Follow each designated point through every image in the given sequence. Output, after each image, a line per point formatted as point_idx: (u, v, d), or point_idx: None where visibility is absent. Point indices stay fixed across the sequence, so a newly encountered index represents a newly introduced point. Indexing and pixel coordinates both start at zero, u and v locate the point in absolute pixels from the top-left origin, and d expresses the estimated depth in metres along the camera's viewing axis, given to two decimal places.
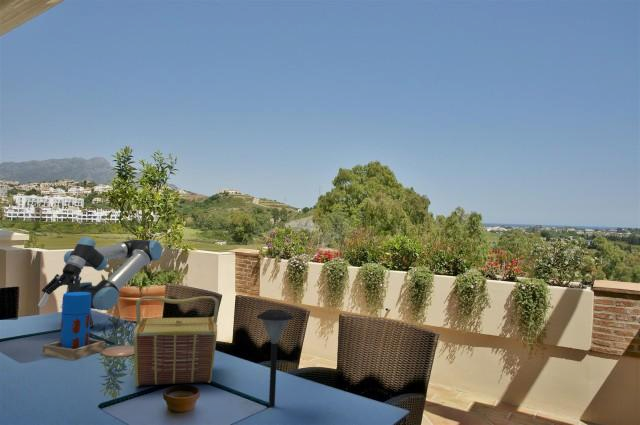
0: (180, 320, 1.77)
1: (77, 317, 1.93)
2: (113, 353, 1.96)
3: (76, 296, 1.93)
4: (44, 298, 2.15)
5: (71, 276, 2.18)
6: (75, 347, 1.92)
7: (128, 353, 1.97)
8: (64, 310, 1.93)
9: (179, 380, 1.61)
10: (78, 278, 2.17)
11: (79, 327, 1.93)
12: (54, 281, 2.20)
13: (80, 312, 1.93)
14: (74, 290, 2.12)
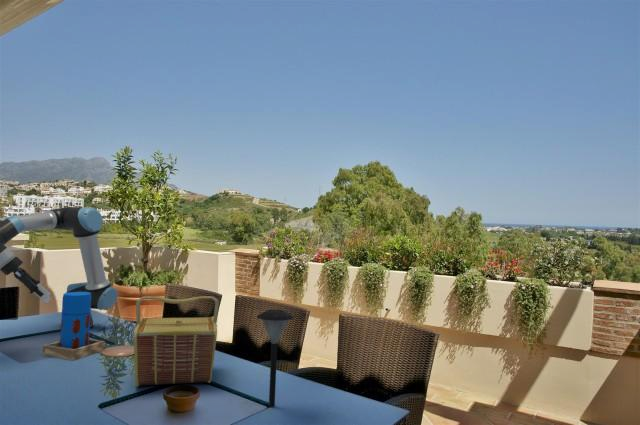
0: (180, 320, 1.77)
1: (77, 317, 1.93)
2: (113, 353, 1.96)
3: (76, 296, 1.93)
4: None
5: None
6: (75, 347, 1.92)
7: (128, 353, 1.97)
8: (64, 310, 1.93)
9: (179, 380, 1.61)
10: (18, 275, 1.81)
11: (79, 327, 1.93)
12: None
13: (80, 312, 1.93)
14: (29, 289, 1.81)
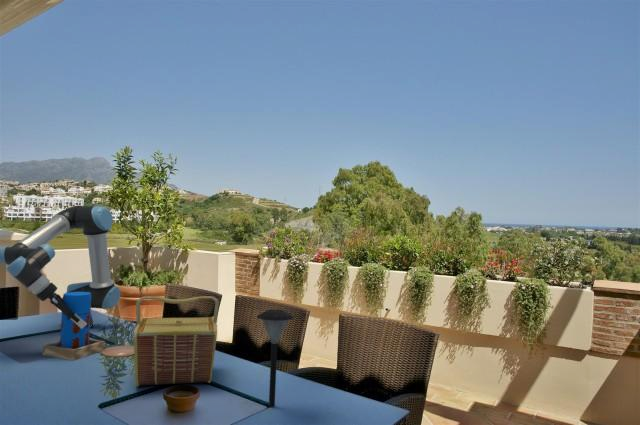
0: (180, 320, 1.77)
1: None
2: (113, 353, 1.96)
3: (76, 296, 1.93)
4: None
5: (51, 300, 1.90)
6: (75, 347, 1.92)
7: (128, 353, 1.97)
8: None
9: (179, 380, 1.61)
10: (55, 302, 1.87)
11: (79, 327, 1.93)
12: None
13: (80, 312, 1.93)
14: (66, 315, 1.88)
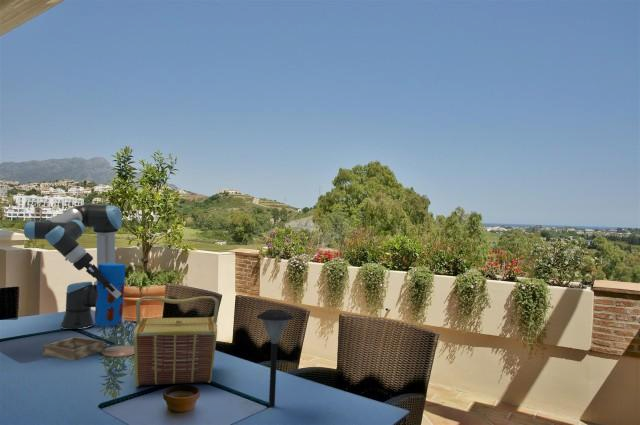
0: (180, 320, 1.77)
1: None
2: (113, 353, 1.96)
3: (111, 266, 1.95)
4: None
5: (87, 269, 1.92)
6: (110, 316, 1.94)
7: (128, 353, 1.97)
8: None
9: (179, 380, 1.61)
10: (91, 271, 1.89)
11: (114, 297, 1.95)
12: None
13: (115, 282, 1.95)
14: (102, 284, 1.90)
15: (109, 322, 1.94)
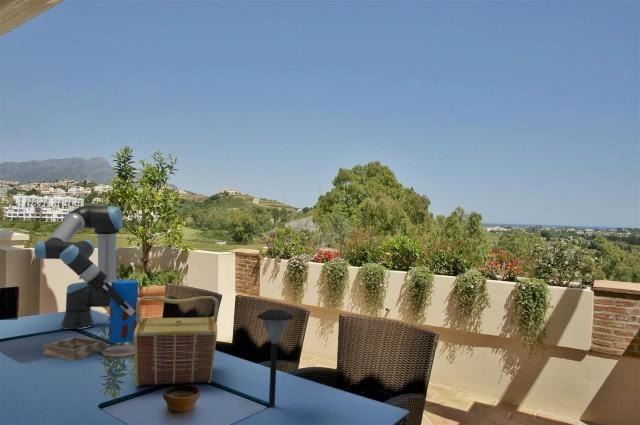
0: (180, 320, 1.77)
1: None
2: (113, 353, 1.96)
3: (125, 284, 1.97)
4: None
5: (101, 288, 1.94)
6: (124, 334, 1.96)
7: (128, 353, 1.97)
8: None
9: (179, 380, 1.61)
10: (106, 289, 1.91)
11: (128, 315, 1.97)
12: None
13: (129, 300, 1.98)
14: (116, 302, 1.92)
15: (123, 339, 1.96)
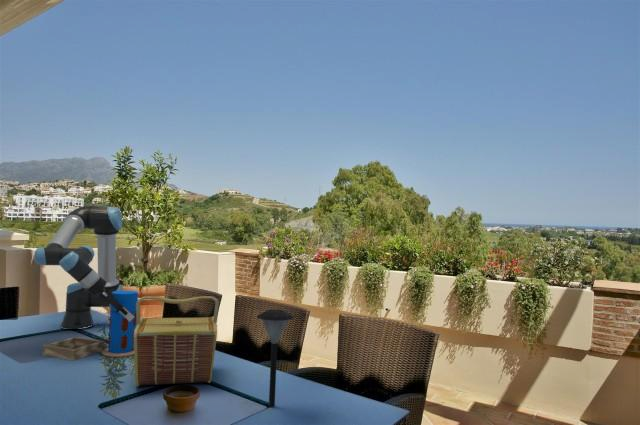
0: (180, 320, 1.77)
1: None
2: (113, 353, 1.96)
3: (125, 294, 1.97)
4: None
5: None
6: (123, 344, 1.97)
7: (128, 353, 1.97)
8: (113, 308, 1.97)
9: (179, 380, 1.61)
10: (105, 295, 1.91)
11: (127, 325, 1.98)
12: None
13: (128, 310, 1.98)
14: None
15: (123, 350, 1.97)
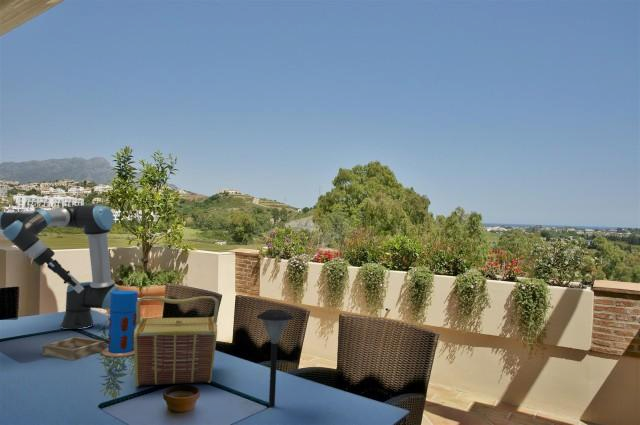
0: (180, 320, 1.77)
1: (125, 315, 1.97)
2: (113, 353, 1.96)
3: (124, 294, 1.97)
4: None
5: None
6: (123, 344, 1.97)
7: (128, 353, 1.97)
8: (113, 308, 1.97)
9: (179, 380, 1.61)
10: (51, 266, 1.85)
11: (127, 325, 1.98)
12: None
13: (128, 310, 1.98)
14: (63, 279, 1.85)
15: (123, 350, 1.97)
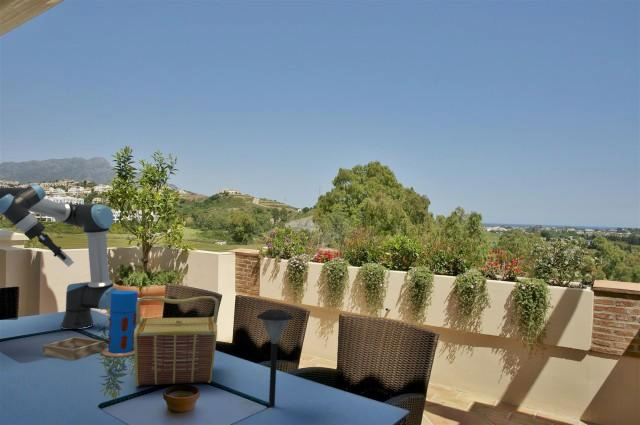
0: (180, 320, 1.77)
1: (125, 315, 1.97)
2: (113, 353, 1.96)
3: (124, 295, 1.97)
4: None
5: None
6: (123, 344, 1.97)
7: (128, 353, 1.97)
8: (113, 308, 1.97)
9: (179, 380, 1.61)
10: (42, 239, 1.88)
11: (127, 325, 1.98)
12: None
13: (128, 310, 1.98)
14: (53, 252, 1.88)
15: (123, 350, 1.97)
